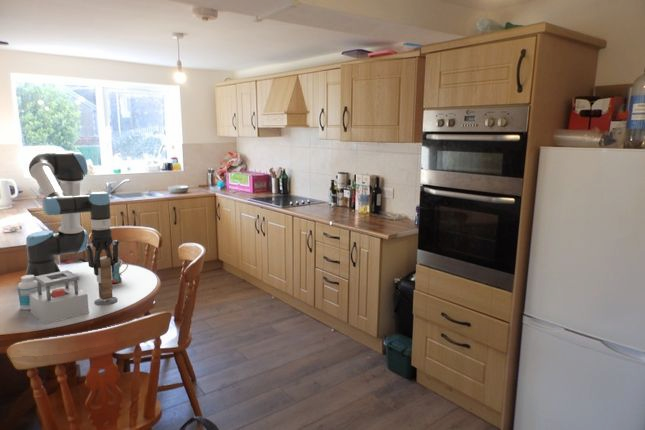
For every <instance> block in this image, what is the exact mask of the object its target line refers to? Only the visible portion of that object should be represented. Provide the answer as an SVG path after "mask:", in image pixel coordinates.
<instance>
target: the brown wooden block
mask: <svg viewBox="0 0 645 430" xmlns="http://www.w3.org/2000/svg"><path fill="white" fill-rule="evenodd" d="M99 268H100V269H101V283H99V282H97V284H98V297H99V298H101V299H103V300H104V299H108V298H112V297H114V296H113V295H114V294H113V283H112V278H111V262H110V258H109V257H107V255H105V256H100V260H99ZM99 298H98V299H99Z"/></svg>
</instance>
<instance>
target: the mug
mask: <svg viewBox="0 0 645 430" xmlns="http://www.w3.org/2000/svg"><path fill="white" fill-rule="evenodd" d="M124 264H125V265H126V267H125V269H124V270H122V271H120V268H121V267H122V265H124ZM128 267H129V264H128V263H127V262H123V261H122V259H120V258H118V263H115V265H114V272H112V279H113V280H112V284H116V283H119V282H121V281H122V280H123V279H122V277H121V276H122V274H123V273H124V272H125V271H126V270H127V269H128Z"/></svg>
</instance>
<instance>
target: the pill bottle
mask: <svg viewBox="0 0 645 430" xmlns="http://www.w3.org/2000/svg"><path fill="white" fill-rule="evenodd" d="M34 279H35V276H34V275H23V276H20V280H21V282H19V283H18V285H17V291H18V300H19V301H18V302H19V308H20V309H21V310H23V311H29V310H30V311H31V308H30V298H29V294H33V293H37V292H38V285H37V281H36V280H34Z"/></svg>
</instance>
